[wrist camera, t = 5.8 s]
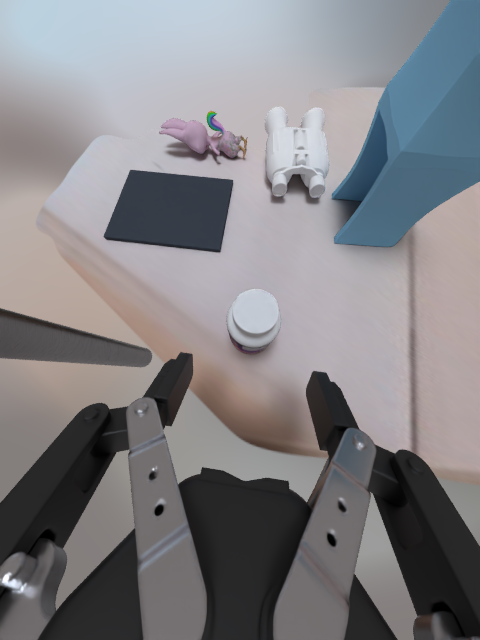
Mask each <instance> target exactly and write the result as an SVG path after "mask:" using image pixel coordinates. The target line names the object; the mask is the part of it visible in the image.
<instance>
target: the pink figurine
mask: <svg viewBox="0 0 480 640" xmlns="http://www.w3.org/2000/svg"><path fill="white" fill-rule="evenodd" d="M215 115H216V113H215V112H213V111H210V112H209V113H208V115H207V123H208V125H209V127H210V128H211V129H213V130H215V131H217V132H216V133H215V134H214V135H213V136H212V137H210V136H208V133H207V130H206V128H205V126H204V125H203V124H202V123H200V122H198V121H194V120H193V121H189V122H185V121H183V120H181V119H174V118H173V119H169V120H167V121H166V122H165V123H164V124H163V125H162V126H161V128H166V129H164V130H162V131H160V132H159V134H167V135H170V136H172V137H174V138H176V139H178V140H180V141H182V142H185V143H186V144H187V145H188V146H189V147H190V149H192V150H194V151H196V152H198V153H201V154H202V153H204V151H205V150H207V149H208V145H210V146H211V148H212V150H213V151H214V152H215V153H216V154H217V155H220V152H219V150H222V151H223V152H224V153H225V154H226V155H228V156H229V157H231V158H234V157H236V155H237V153H238V151H239V150H240V149H241V150H242V151H243V154H244V155H243V158H244V156H245V153H246V150H245V149H246V145H247V139H246V140H245V139H244V138H243V137H242V136H239V137H236V136H234V134H233V133H232V132H229V131H225V130H224V128H223V127H222V125H221V124H220V123H219V122H218V121H217V120H215V119H214V118H213V117H214V116H215ZM219 134H222V135H221V136H220V137H218V136H219ZM241 140H243V141H244V144H245V146H244V148H245V149H243V148H242V147H241V146H240V145H239V143H240V141H241Z"/></svg>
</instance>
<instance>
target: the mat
mask: <svg viewBox="0 0 480 640" xmlns="http://www.w3.org/2000/svg"><path fill="white" fill-rule="evenodd" d="M232 186H233V180H228V179H218V178H208V177H198V176H187V175H177V174H167V173H157V172H147V171H137V170H130V172H129V175H128V177H127V180H126V182H125V185H124V187H123V190H122V192H121V195H120V197H119V200H118V202H117V204H116V207H115V209H114V212H113V214H112V217H111V219H110V222H109V224H108V227H107V229H106V232H105V234H104V238H105V239H109V240H118V241H126V242H135V243H144V244H153V245H162V246H170V247H179V248H188V249H197V250H206V251H215V252H220V250H221V244H222V239H223V234H224V229H225V223H226V218H227V213H228V207H229V202H230V197H231V191H232Z"/></svg>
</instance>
